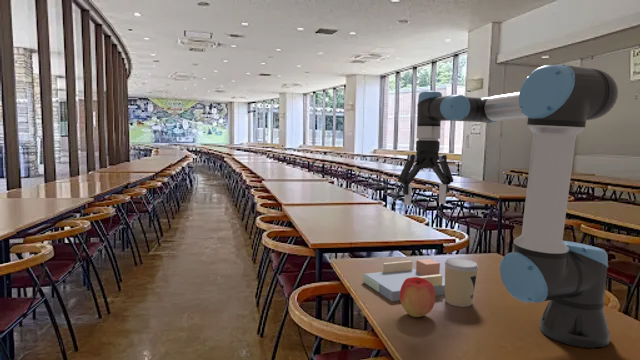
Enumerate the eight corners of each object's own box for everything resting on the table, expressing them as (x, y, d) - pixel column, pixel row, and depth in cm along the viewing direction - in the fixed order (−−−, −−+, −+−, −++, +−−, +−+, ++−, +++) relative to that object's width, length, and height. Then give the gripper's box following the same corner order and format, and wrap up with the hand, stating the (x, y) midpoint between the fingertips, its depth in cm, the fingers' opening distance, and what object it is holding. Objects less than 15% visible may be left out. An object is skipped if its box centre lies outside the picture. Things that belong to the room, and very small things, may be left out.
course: (458, 292, 140) (459, 274, 139) (391, 301, 131) (392, 281, 130) (424, 275, 156) (425, 259, 156) (363, 282, 147) (363, 264, 147)
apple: (392, 310, 124) (393, 275, 123) (421, 307, 127) (423, 273, 126) (411, 324, 115) (412, 287, 114) (441, 320, 118) (443, 283, 117)
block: (439, 274, 148) (440, 263, 148) (425, 276, 146) (426, 264, 146) (429, 270, 153) (430, 258, 153) (416, 271, 151) (416, 260, 151)
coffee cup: (477, 309, 126) (481, 268, 125) (443, 306, 128) (446, 265, 126) (471, 297, 136) (475, 259, 134) (440, 294, 137) (443, 256, 136)
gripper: (451, 140, 153) (448, 201, 155) (388, 138, 144) (386, 203, 146) (466, 140, 146) (463, 204, 148) (401, 138, 137) (398, 207, 139)
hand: (425, 204), depth 147 cm, fingers open, 13 cm apart
